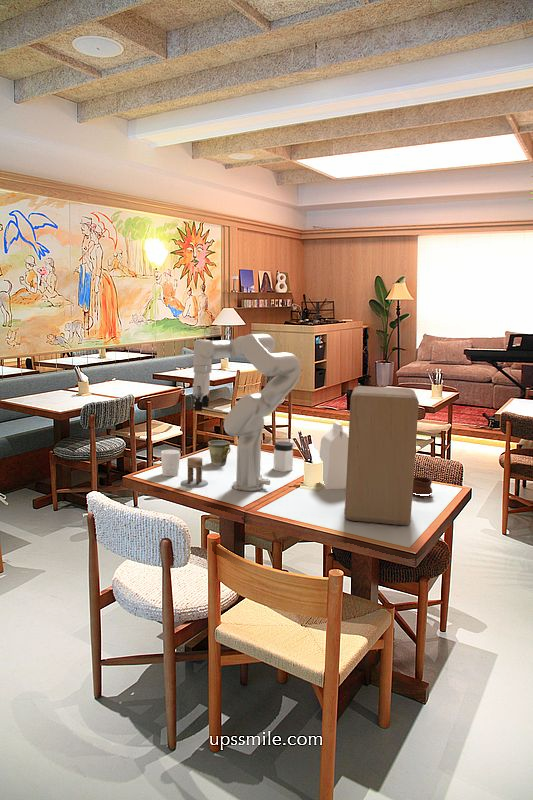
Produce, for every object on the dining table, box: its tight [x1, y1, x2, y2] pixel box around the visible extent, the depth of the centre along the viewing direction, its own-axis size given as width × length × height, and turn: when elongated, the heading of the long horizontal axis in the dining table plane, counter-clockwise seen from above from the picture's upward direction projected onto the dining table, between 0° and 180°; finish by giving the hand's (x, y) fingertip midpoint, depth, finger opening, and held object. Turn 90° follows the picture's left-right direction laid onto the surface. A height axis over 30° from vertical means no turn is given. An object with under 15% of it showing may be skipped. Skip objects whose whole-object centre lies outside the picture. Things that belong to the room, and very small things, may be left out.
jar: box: [273, 440, 294, 473], centre depth 278 cm, size 9×8×12 cm
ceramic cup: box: [207, 439, 231, 466], centre depth 283 cm, size 13×10×10 cm
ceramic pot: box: [412, 476, 433, 502], centre depth 246 cm, size 18×18×7 cm
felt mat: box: [180, 478, 209, 488], centre depth 253 cm, size 11×11×1 cm
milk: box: [319, 421, 349, 490], centre depth 256 cm, size 12×12×26 cm
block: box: [344, 385, 420, 526], centre depth 219 cm, size 22×22×45 cm
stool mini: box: [187, 456, 203, 485], centre depth 252 cm, size 6×6×10 cm
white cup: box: [160, 449, 181, 477], centre depth 264 cm, size 8×8×10 cm
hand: (201, 408), depth 263 cm, fingers open, 9 cm apart
